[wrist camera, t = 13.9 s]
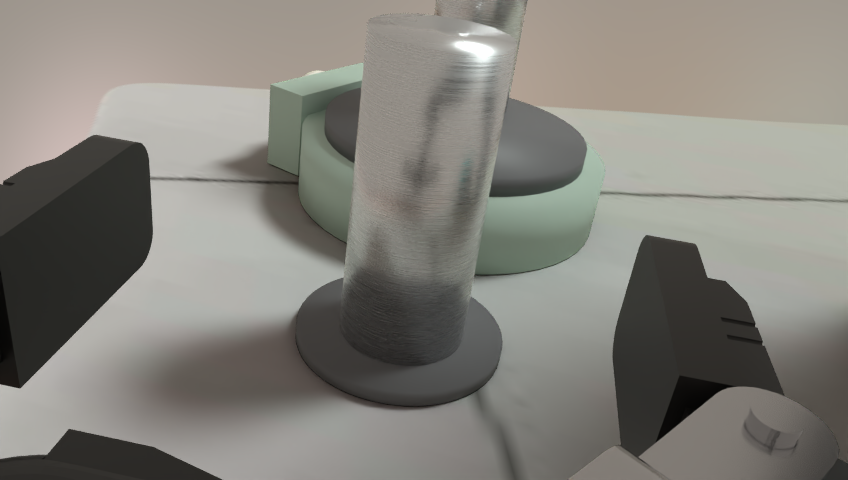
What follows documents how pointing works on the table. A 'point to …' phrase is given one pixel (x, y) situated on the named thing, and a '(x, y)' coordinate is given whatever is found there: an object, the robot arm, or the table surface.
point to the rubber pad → (390, 381)
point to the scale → (511, 183)
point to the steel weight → (421, 182)
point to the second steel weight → (488, 17)
